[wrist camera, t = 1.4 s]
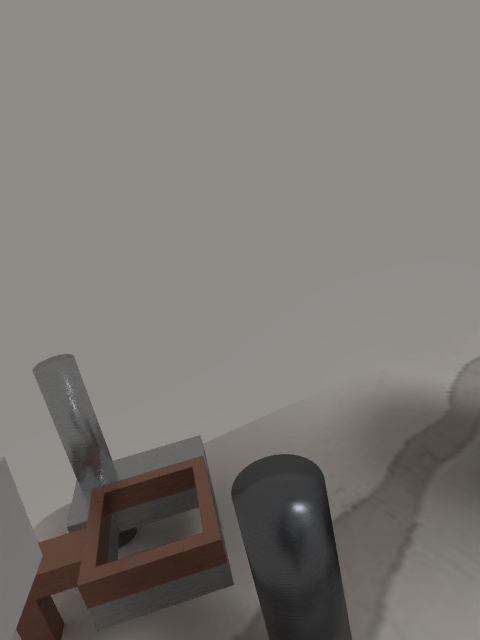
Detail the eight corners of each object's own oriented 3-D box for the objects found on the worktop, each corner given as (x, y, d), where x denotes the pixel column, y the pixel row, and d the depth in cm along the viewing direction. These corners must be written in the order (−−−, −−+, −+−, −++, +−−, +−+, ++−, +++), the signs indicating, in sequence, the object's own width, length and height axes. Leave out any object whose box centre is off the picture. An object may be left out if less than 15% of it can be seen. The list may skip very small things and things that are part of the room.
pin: (343, 650, 29) (305, 444, 24) (376, 728, 25) (340, 502, 20) (278, 673, 29) (224, 469, 23) (300, 757, 25) (241, 534, 19)
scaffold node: (215, 489, 46) (169, 324, 39) (247, 631, 32) (184, 411, 25) (58, 537, 44) (-17, 373, 38) (19, 711, 30) (-110, 495, 24)
